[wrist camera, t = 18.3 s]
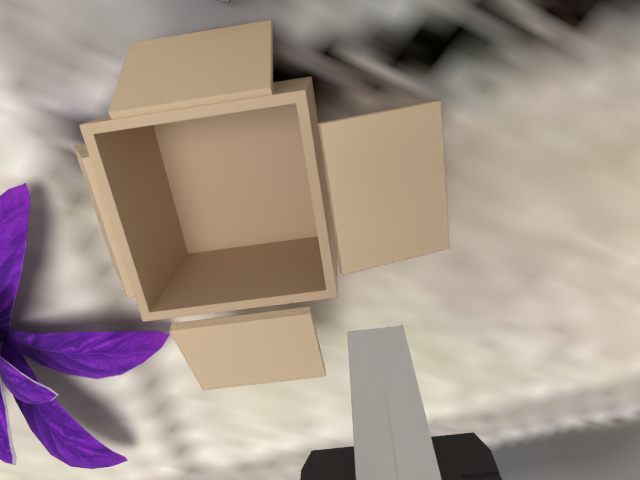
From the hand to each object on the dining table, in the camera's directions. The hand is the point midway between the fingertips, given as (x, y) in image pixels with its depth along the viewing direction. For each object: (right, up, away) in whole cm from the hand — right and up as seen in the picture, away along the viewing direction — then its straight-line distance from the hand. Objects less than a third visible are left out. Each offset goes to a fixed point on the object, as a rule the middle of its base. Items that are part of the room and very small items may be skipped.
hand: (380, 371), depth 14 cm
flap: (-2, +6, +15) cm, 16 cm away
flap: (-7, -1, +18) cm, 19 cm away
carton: (-10, +10, +24) cm, 28 cm away
